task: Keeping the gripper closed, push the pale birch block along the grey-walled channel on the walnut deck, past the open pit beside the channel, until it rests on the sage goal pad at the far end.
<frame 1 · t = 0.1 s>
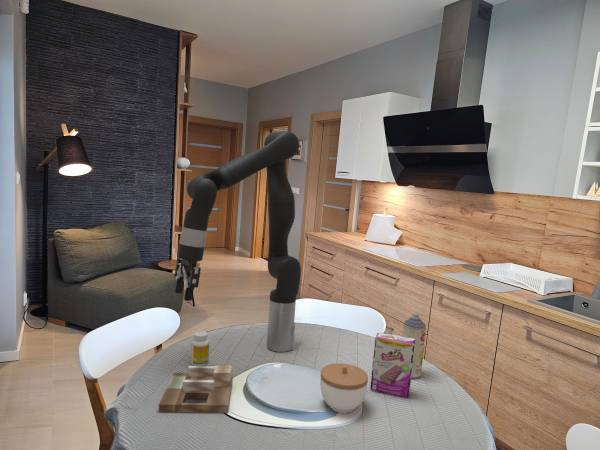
hand: (182, 296, 124), 22 cm above the table, tool pointing down, fingers open, 8 cm apart
supplement bottle: (199, 363, 131), on the table
birch block: (222, 382, 115), point 2 cm above the table, touching channel deck
lidded bowl: (341, 406, 111), on the table
aerosol can: (409, 374, 133), on the table
channel deck: (198, 394, 112), on the table
candy bar box: (390, 392, 121), on the table
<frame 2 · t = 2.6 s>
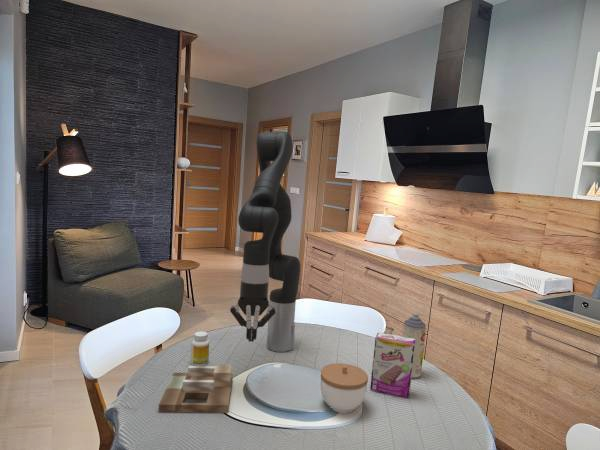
hand: (251, 340, 114), 14 cm above the table, tool pointing down, fingers closed
nothing on the table moved.
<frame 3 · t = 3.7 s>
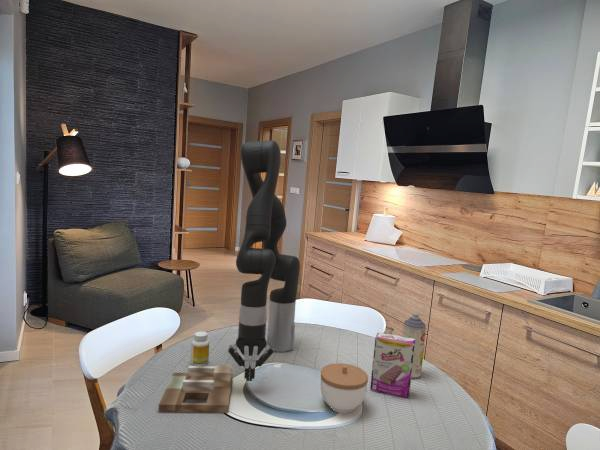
hand: (249, 379, 116), 3 cm above the table, tool pointing down, fingers closed
nothing on the table moved.
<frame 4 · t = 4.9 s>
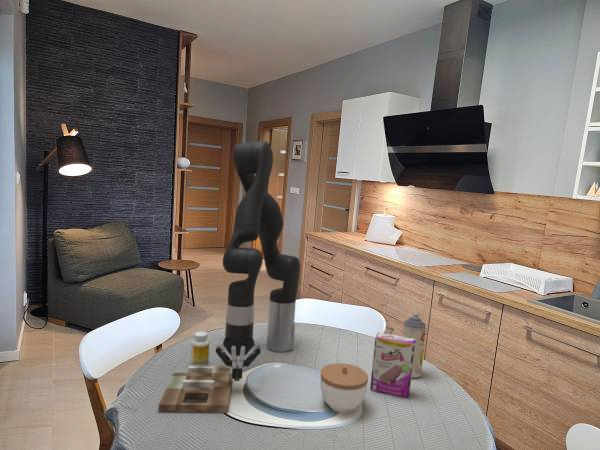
hand: (236, 379, 115), 3 cm above the table, tool pointing down, fingers closed
birch block: (220, 382, 115), point 2 cm above the table, touching gripper
everything else where it was.
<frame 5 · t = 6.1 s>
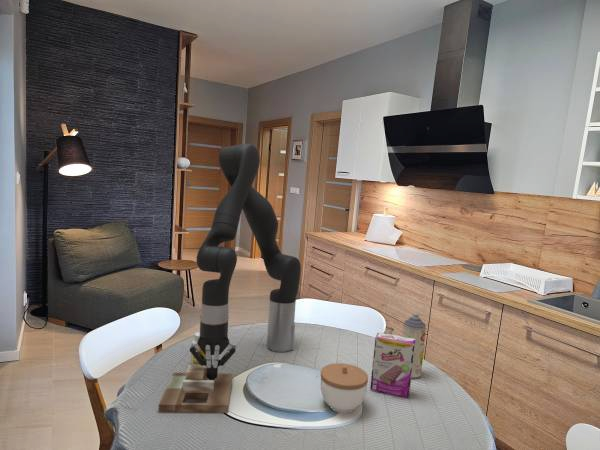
hand: (211, 379, 114), 3 cm above the table, tool pointing down, fingers closed
birch block: (195, 382, 114), point 2 cm above the table, touching gripper
everything else where it was.
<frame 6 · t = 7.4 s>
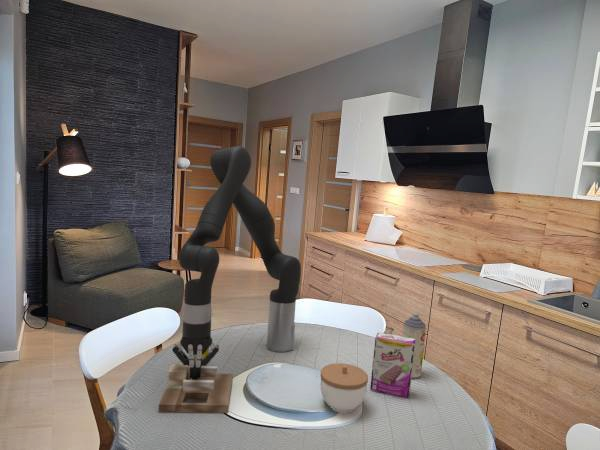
hand: (195, 378, 114), 3 cm above the table, tool pointing down, fingers closed
birch block: (178, 381, 114), point 2 cm above the table, touching channel deck, gripper
everything else where it was.
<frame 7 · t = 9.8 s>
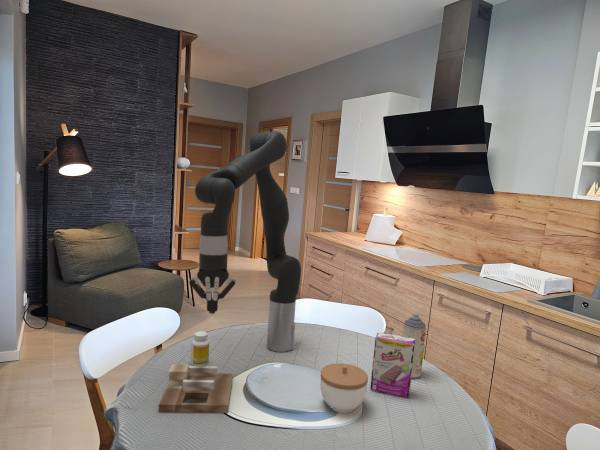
hand: (212, 312, 115), 21 cm above the table, tool pointing down, fingers closed
birch block: (178, 381, 114), point 2 cm above the table, touching channel deck
everything else where it was.
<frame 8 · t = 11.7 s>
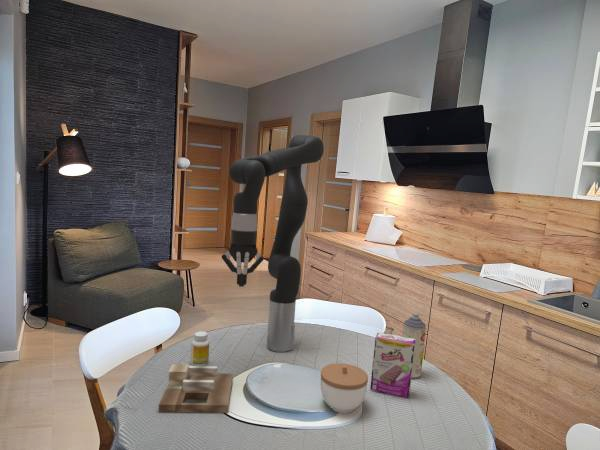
hand: (241, 285, 123), 27 cm above the table, tool pointing down, fingers closed
nothing on the table moved.
at the end: birch block 0.1 cm from the target spot on the channel deck, point 2.0 cm above the channel deck's base; birch block tilted 0° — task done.
